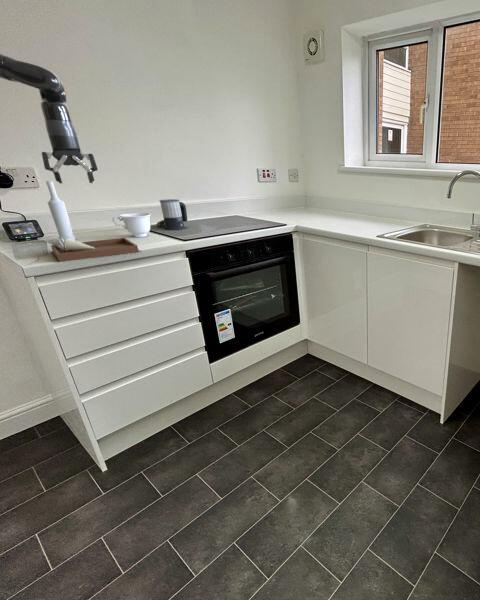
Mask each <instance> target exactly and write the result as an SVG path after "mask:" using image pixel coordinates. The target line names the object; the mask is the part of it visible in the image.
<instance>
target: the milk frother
mask: <svg viewBox="0 0 480 600" xmlns="http://www.w3.org/2000/svg"><path fill="white" fill-rule="evenodd" d="M158 201H159V204H160V207H161V208H160V209H161V213H162V217H163V219H162V220H160V221H157V222H156V226H157V227H159V228H164V229H165V230H168V231H169V230H173V231H174V230H182V229H185V228H186V226H185V223H187V222H188V212H187V206H186V204H185V203H184V202H183V201H180V199H177V198H176V199H175V198H174V199H173V198H172V199H171V198H170V199H159V200H158ZM184 222H185V223H184Z"/></svg>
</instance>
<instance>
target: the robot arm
mask: <svg viewBox="0 0 480 600" xmlns="http://www.w3.org/2000/svg"><path fill="white" fill-rule="evenodd" d="M0 79H2V80H5V81H9V82H13V83H20V84H23V85H26V86H28V87H32V88H34V89H38V92H39V95H40V99H41V101H40V109H41V112H42V115H43V119H44V125H45V128H46V132H47V136H48V139H49V142H50V145H51V149H52V152H48V151H47V152H46V151H41V152H40V153H41V158H42V163H43V166H44V169H45V170H46V171H49V172H52V173H53V176H54V179H55V181H56V182H57V183H58V184H63V181H62V178H61V174H60V172H59V170H60V169H61V168H62V166H67V167H69V166H75V167H76V166H77V167H78V166H80V167H81V168H82V169H83V170H85V171H86V175H87V179H88V182H89V184H93V182H95V179H94V174H93V173H94V172H97V171H98V169H99V168H98V166H97V163H96V160H95V157H94V154H93V153H83V152H82V151H81V147H80V143H79V140H78V134H77V132H76V129H75V126H74V124H73V120H72V118H71V113H70V110H69V107H68V101H67V93H66V90H65V86H64V83H63V81H62V78H60V76H58V75H57V74H56V73H54V72H53V71H52V70H50V69H48V68H46V67H43V66H40V65H37V64H33V63H31V62H25V61H23V60H22V61H21V60H18V59H15V58H12V57H11V56H9V55H8V56H7V55H4V54H2V53H0ZM52 157H53V158H54V159H55V160H56V162H55V164H54V165H53V167H51V165H50V161H49V160H51V158H52ZM85 158H86V160H88V161H89V163H90V166H91V167H89V166H88V165H87V164H86V163H85V162H83V159H85Z"/></svg>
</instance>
